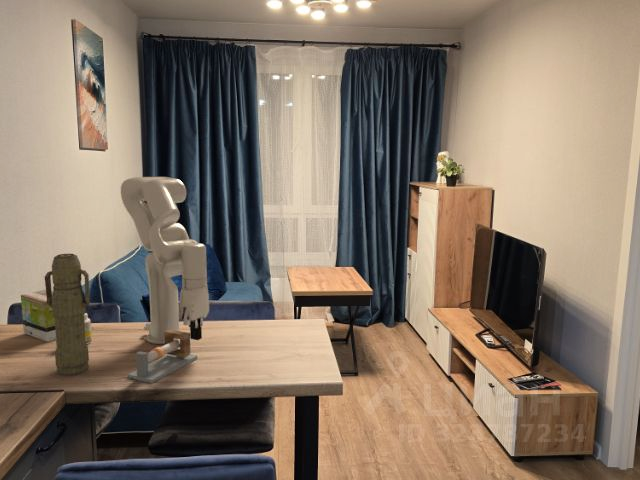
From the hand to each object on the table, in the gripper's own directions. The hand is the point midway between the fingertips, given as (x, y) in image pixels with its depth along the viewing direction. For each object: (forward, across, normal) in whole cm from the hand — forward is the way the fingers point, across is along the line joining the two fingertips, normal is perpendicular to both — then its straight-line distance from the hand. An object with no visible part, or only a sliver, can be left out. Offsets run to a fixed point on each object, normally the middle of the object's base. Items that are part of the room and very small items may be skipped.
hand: (196, 338), depth 167 cm
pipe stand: (+6, +10, -4) cm, 13 cm away
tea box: (+6, +5, -61) cm, 61 cm away
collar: (+4, +5, -4) cm, 7 cm away
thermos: (+6, +24, -27) cm, 37 cm away
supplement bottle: (+6, +6, -43) cm, 44 cm away
